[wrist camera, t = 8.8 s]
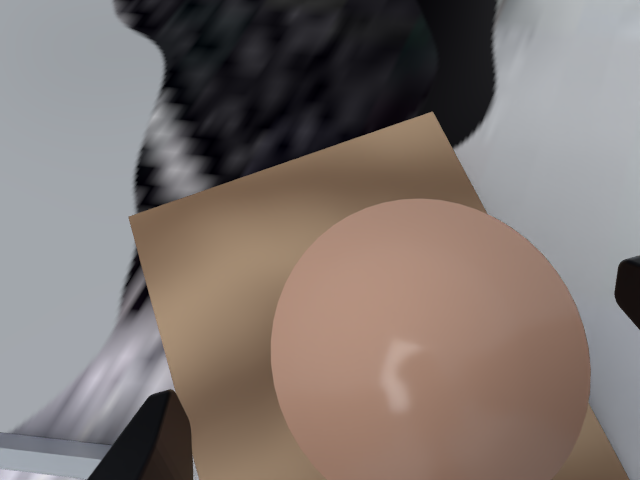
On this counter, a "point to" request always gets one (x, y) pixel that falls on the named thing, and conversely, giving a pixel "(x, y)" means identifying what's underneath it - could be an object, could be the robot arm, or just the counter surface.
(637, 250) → the counter surface
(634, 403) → the counter surface
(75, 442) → the grey box
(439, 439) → the pink tall rounded piece
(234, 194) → the walnut board
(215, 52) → the counter surface
